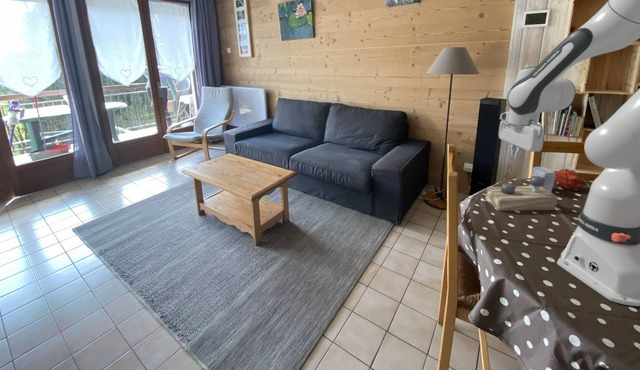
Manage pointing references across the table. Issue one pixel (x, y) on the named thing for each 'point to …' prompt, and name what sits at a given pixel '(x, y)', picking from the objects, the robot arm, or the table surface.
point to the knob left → (508, 188)
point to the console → (521, 199)
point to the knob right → (537, 183)
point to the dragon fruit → (569, 179)
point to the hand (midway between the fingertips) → (515, 157)
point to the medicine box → (544, 176)
